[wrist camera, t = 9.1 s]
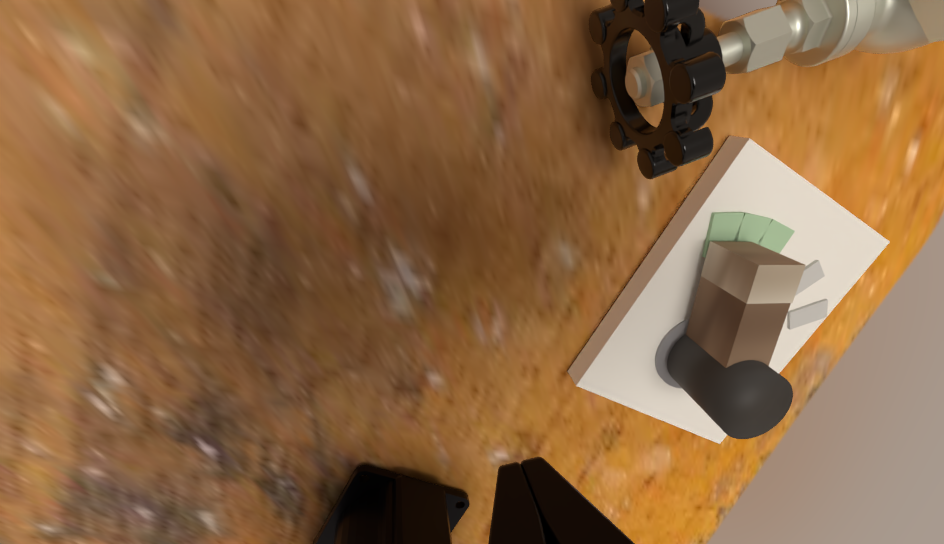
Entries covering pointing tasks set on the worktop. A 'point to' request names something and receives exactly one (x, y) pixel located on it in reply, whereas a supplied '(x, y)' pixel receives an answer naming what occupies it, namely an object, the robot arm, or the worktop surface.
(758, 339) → the lever
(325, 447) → the worktop surface
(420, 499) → the robot arm
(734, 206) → the dial board
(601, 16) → the valve
